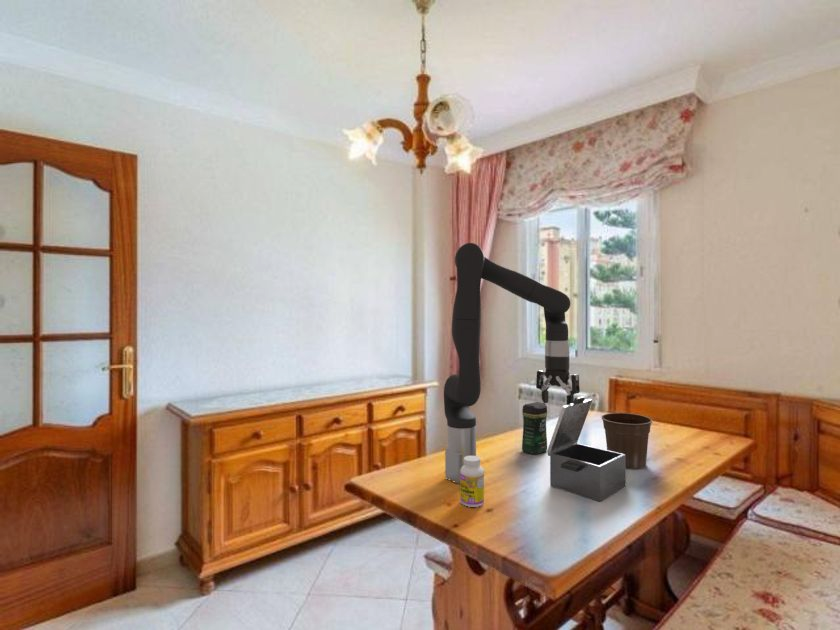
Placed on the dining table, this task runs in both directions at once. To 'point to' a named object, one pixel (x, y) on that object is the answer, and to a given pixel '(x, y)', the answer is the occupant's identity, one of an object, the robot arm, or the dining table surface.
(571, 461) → the dark grey storage box
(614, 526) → the dining table surface
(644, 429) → the plant pot
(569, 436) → the grey box lid
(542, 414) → the coffee jar
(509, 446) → the dining table surface
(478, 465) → the supplement bottle
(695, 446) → the dining table surface
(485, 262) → the robot arm
